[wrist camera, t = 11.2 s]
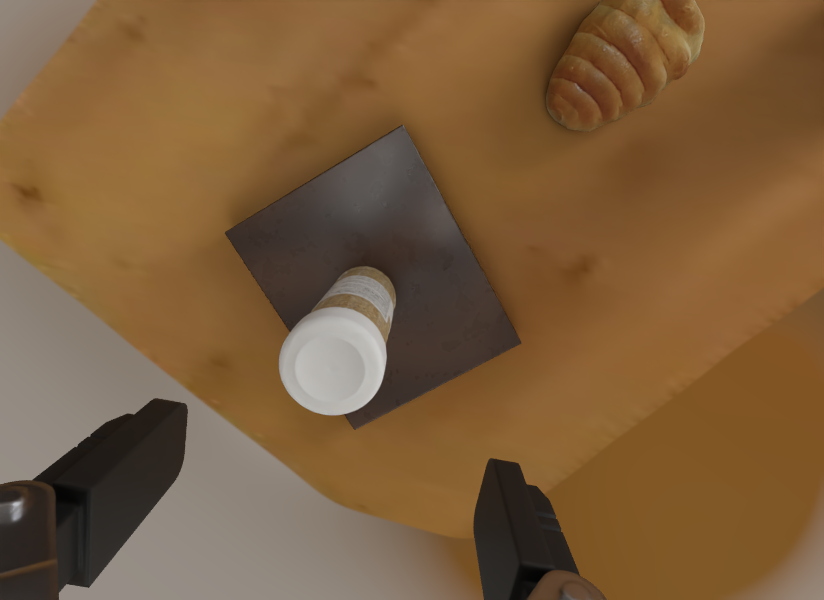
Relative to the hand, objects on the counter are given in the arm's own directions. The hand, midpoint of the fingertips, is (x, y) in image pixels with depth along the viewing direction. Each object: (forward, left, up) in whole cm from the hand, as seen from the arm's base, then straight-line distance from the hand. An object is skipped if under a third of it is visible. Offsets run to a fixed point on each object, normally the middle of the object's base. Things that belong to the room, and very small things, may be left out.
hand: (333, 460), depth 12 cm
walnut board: (0, -1, -23) cm, 23 cm away
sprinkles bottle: (0, -2, -21) cm, 21 cm away
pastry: (-5, +20, -23) cm, 31 cm away
